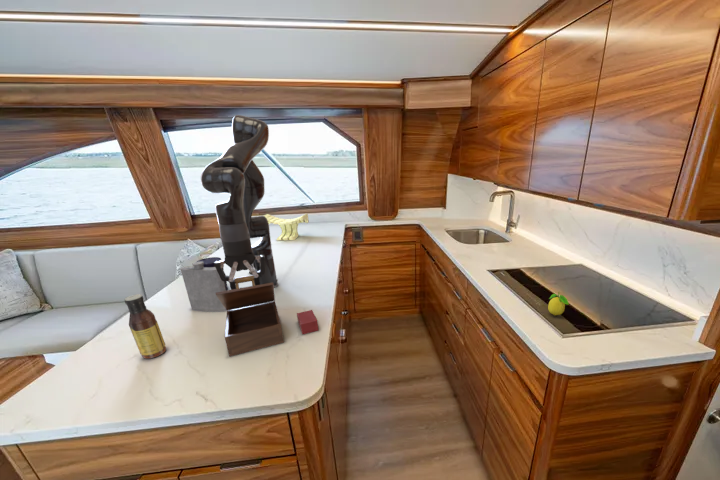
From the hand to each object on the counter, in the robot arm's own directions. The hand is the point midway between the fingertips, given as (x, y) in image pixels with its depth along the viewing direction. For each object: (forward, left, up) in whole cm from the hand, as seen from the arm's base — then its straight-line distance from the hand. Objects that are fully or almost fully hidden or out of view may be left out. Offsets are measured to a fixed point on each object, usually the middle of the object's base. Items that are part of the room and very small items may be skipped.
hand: (246, 289), depth 94 cm
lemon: (+93, +53, -18) cm, 109 cm away
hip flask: (-35, +8, -18) cm, 40 cm away
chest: (-2, +1, -18) cm, 18 cm away
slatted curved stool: (-90, +112, -18) cm, 145 cm away
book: (+11, +12, -18) cm, 25 cm away
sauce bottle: (-23, -19, -18) cm, 34 cm away
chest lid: (-3, +2, -5) cm, 6 cm away
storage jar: (-49, +21, -18) cm, 56 cm away
